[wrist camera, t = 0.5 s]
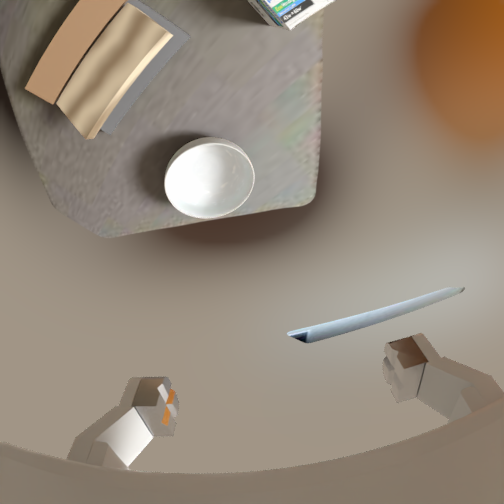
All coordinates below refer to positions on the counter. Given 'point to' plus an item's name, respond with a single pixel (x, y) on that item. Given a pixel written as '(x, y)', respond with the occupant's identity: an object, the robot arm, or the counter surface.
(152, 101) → the counter surface
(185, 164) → the cereal bowl
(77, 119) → the birch plank
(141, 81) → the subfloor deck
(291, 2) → the light bulb box
